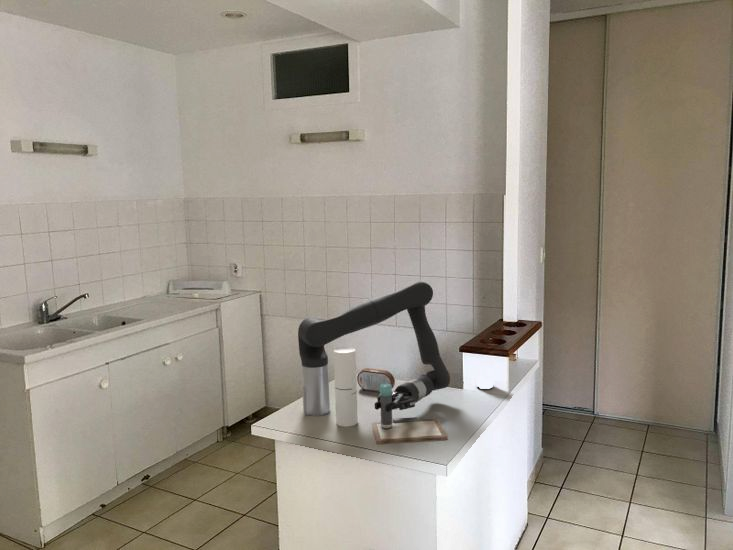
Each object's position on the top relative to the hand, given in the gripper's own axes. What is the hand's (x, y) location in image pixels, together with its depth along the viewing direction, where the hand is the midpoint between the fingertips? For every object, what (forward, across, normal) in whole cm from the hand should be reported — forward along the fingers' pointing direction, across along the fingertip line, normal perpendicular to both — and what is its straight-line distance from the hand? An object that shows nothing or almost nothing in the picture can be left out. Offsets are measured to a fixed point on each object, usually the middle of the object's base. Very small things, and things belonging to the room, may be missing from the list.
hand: (381, 407), depth 192 cm
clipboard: (-6, +6, +8) cm, 12 cm away
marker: (-3, 0, +8) cm, 8 cm away
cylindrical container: (-1, -15, +9) cm, 17 cm away
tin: (-32, -26, +9) cm, 42 cm away
